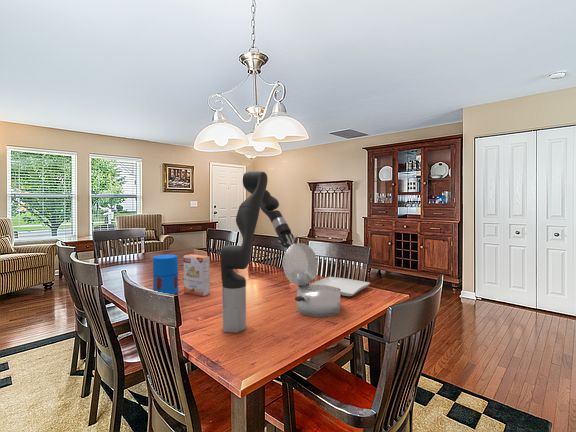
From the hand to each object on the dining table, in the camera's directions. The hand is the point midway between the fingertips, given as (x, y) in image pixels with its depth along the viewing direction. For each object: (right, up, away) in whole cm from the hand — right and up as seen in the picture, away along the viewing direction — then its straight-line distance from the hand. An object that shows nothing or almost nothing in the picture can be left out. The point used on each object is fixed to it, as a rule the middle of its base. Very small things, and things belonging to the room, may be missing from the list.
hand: (295, 252), depth 162 cm
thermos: (-60, -25, -14) cm, 67 cm away
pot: (+11, -25, -13) cm, 30 cm away
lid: (+3, -5, -4) cm, 7 cm away
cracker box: (-53, -24, +11) cm, 59 cm away
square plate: (+26, -24, +20) cm, 40 cm away
